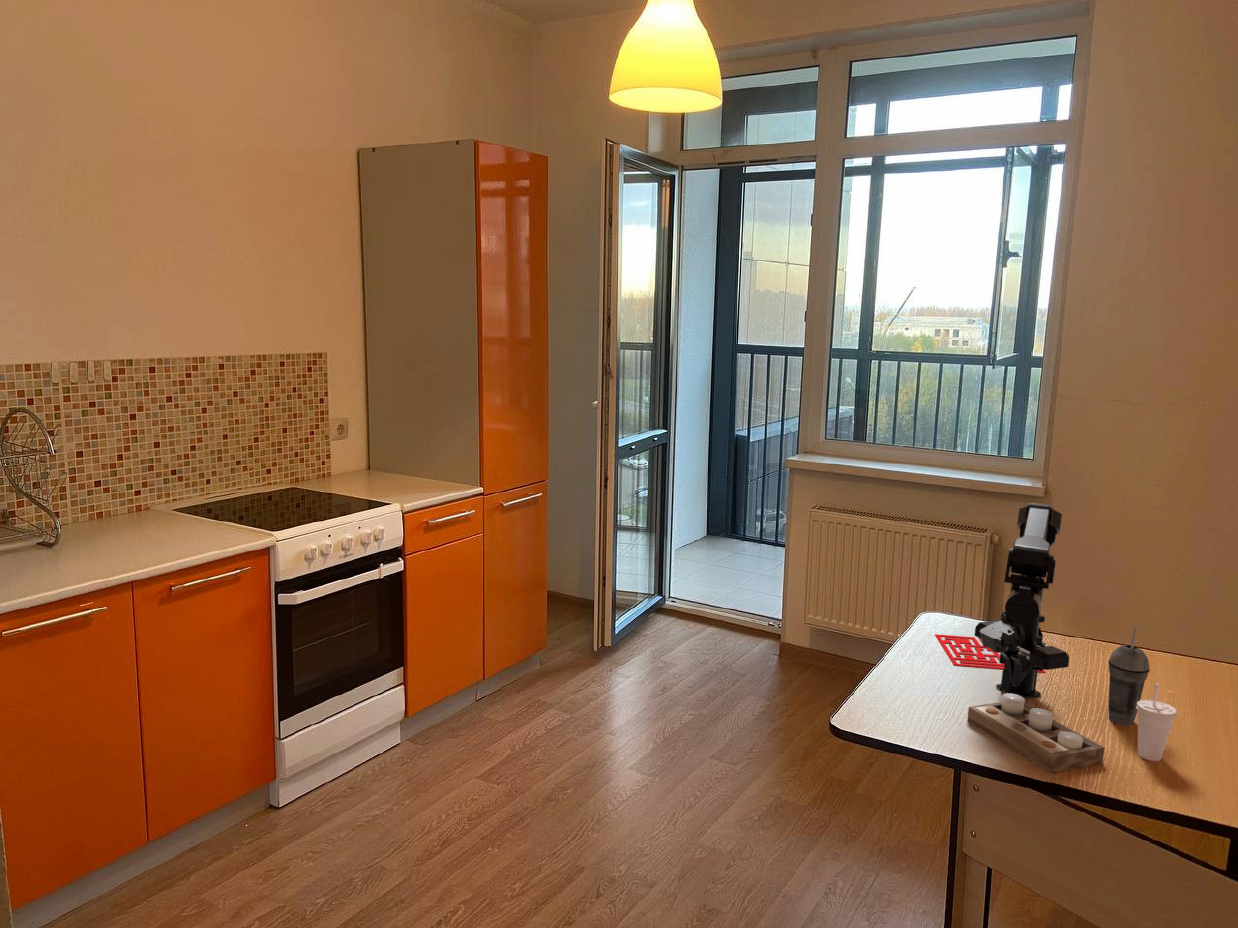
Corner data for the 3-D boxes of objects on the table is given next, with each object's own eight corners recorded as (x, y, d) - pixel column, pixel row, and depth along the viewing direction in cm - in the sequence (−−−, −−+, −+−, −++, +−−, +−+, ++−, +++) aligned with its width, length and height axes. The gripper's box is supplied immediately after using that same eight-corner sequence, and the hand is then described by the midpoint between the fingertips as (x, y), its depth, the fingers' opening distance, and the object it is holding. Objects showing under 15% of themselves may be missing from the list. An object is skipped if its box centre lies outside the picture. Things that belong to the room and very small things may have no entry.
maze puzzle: (1018, 643, 225) (1018, 640, 225) (1045, 674, 206) (1045, 671, 205) (934, 636, 227) (935, 634, 227) (953, 667, 208) (954, 664, 208)
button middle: (1039, 721, 174) (1041, 707, 174) (1056, 731, 171) (1058, 715, 170) (1023, 724, 173) (1025, 709, 172) (1039, 733, 169) (1041, 718, 169)
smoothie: (1122, 747, 170) (1132, 677, 168) (1154, 747, 171) (1164, 677, 169) (1144, 764, 164) (1155, 691, 162) (1177, 764, 165) (1189, 691, 162)
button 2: (1068, 745, 168) (1070, 730, 168) (1085, 755, 164) (1088, 739, 164) (1051, 748, 167) (1053, 732, 166) (1069, 758, 163) (1071, 742, 163)
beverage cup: (1137, 715, 185) (1151, 621, 181) (1145, 731, 178) (1159, 633, 174) (1097, 709, 187) (1110, 616, 183) (1104, 724, 180) (1117, 627, 177)
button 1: (1012, 706, 181) (1013, 692, 180) (1027, 715, 177) (1029, 700, 177) (996, 708, 179) (998, 694, 179) (1011, 717, 176) (1013, 702, 175)
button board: (1015, 713, 183) (1016, 697, 183) (1102, 763, 164) (1104, 745, 164) (967, 720, 179) (969, 704, 179) (1051, 772, 160) (1053, 754, 159)
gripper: (956, 597, 180) (949, 671, 183) (1028, 629, 163) (1019, 711, 166) (1001, 592, 184) (992, 665, 187) (1076, 624, 167) (1065, 703, 170)
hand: (1015, 685), depth 177 cm, fingers closed
